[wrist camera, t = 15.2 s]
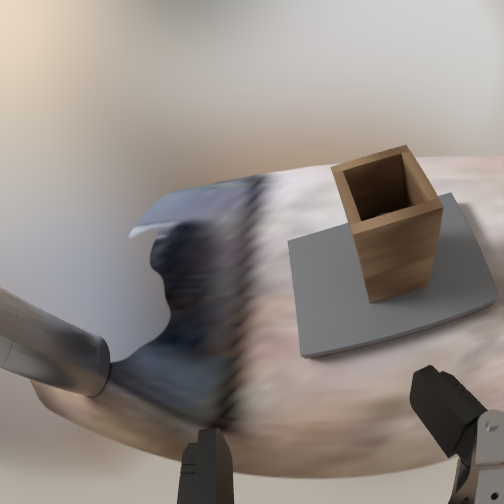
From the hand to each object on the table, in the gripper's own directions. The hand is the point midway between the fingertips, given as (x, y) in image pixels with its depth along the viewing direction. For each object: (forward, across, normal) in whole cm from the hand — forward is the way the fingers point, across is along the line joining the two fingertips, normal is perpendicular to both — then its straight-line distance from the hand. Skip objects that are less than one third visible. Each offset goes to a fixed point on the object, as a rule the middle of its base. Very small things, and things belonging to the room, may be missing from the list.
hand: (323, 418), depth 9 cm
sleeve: (+12, -10, 0) cm, 16 cm away
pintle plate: (+13, -10, +1) cm, 17 cm away
